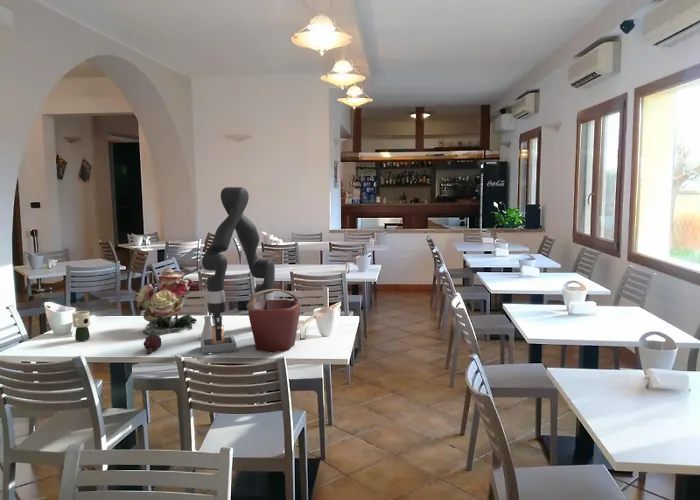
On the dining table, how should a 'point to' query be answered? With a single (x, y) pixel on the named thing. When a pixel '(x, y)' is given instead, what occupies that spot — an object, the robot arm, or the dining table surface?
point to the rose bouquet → (165, 303)
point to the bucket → (273, 322)
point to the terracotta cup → (215, 336)
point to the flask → (207, 328)
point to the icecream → (152, 343)
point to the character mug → (81, 325)
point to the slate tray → (218, 345)
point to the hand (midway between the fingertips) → (217, 338)
